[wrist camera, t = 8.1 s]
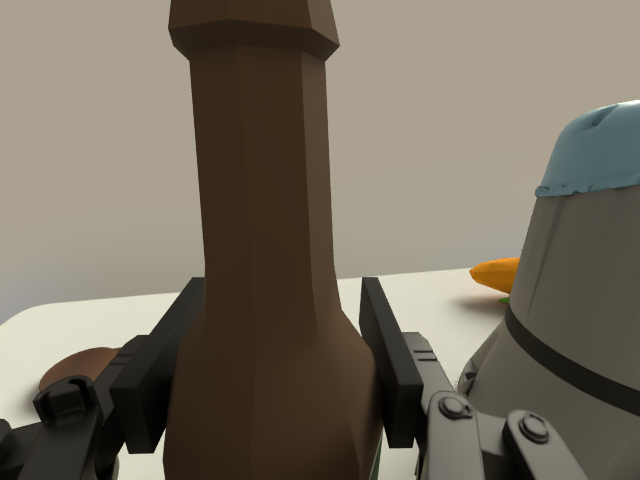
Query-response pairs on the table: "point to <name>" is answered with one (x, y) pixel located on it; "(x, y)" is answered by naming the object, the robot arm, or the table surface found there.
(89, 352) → the wooden spoon
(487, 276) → the corn
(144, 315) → the table surface
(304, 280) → the beer bottle
